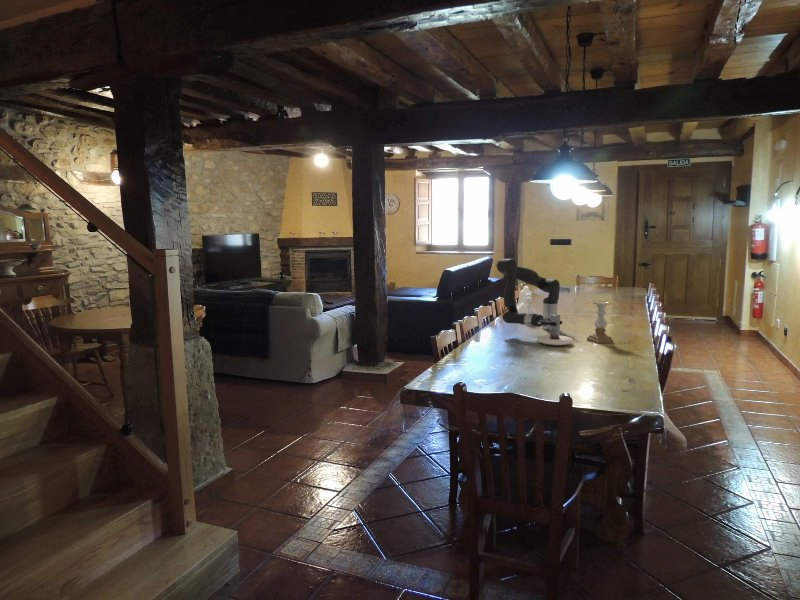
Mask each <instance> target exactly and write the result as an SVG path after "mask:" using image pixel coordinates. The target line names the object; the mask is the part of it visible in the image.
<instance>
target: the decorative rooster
mask: <svg viewBox="0 0 800 600" xmlns="http://www.w3.org/2000/svg"><path fill="white" fill-rule="evenodd" d="M518 296H519V297H518V300H517V304H516V307H517V311H518V313H532V314H537V311H536V309H535V307H534V305H533V304H532V302H533V295H532V291H531V290H530V287H529V285H524V286H523V288H522V289H521V290H520V291H519V294H518Z"/></svg>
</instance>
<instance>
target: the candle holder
mask: <svg viewBox="0 0 800 600" xmlns="http://www.w3.org/2000/svg"><path fill="white" fill-rule="evenodd" d="M592 304H593V305H595V306H596V307H597V308H598V309H597V311H596V314H597V318H596V319H595V320H594V324H593V325H594V327H595V329H594V331H595V333H593V334H589V335H588V336H586V342H587V341H588V342H590V341H591V343H593V342H594V343H593V344H596V343H597V344H596V345H604V344H606V345H607V344H614V339H612V337H611V336H609V335H608V334H606V332H607V331H606V328H607V327H608V322H607V320H606V319H605V315H606V311H605V309H606V307H607V306H610V305H611V304H612V303H611V301H608V300H607V301H605V300H594V301H592Z"/></svg>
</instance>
